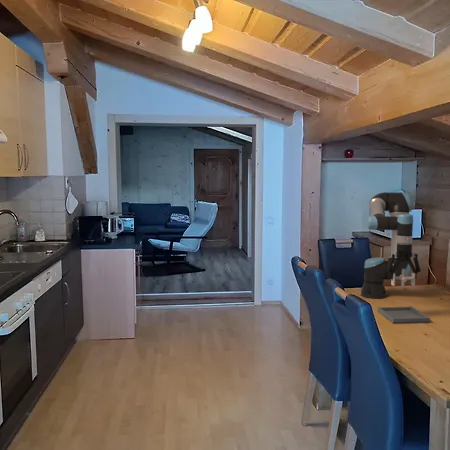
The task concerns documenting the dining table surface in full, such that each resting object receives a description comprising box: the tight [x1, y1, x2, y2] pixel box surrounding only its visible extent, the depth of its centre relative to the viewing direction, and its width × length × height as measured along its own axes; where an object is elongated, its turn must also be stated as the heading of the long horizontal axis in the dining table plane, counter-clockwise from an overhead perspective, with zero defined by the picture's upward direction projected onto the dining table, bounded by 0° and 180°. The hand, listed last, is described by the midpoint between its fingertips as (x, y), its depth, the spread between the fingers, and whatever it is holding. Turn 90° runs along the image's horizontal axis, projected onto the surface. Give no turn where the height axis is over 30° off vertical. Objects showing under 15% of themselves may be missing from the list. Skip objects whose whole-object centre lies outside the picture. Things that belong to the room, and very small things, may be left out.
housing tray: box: [377, 306, 431, 325], centre depth 243 cm, size 20×19×2 cm
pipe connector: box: [395, 269, 414, 289], centre depth 244 cm, size 10×10×10 cm
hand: (402, 285), depth 244 cm, fingers closed on pipe connector, 10 cm apart
